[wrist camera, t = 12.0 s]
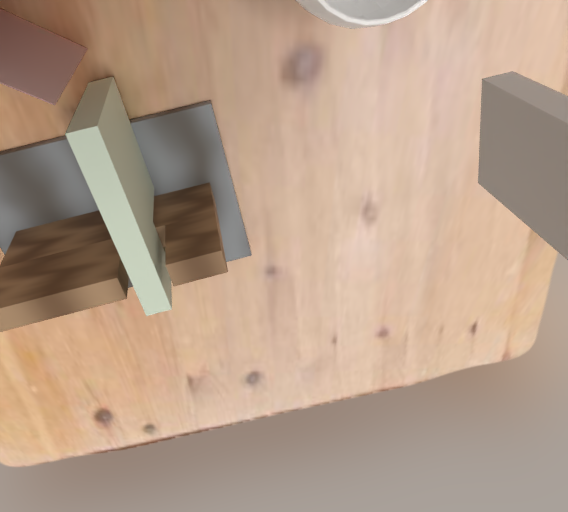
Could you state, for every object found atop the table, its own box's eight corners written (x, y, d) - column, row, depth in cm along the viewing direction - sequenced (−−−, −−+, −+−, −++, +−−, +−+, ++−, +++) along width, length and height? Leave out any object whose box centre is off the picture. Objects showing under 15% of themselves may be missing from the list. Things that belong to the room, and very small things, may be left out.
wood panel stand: (40, 305, 53) (9, 403, 42) (-44, 162, 44) (-111, 241, 33) (250, 250, 54) (271, 331, 44) (210, 100, 45) (224, 157, 35)
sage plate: (88, 82, 42) (65, 133, 32) (113, 76, 42) (97, 125, 32) (150, 237, 50) (146, 316, 40) (170, 232, 50) (171, 309, 40)
